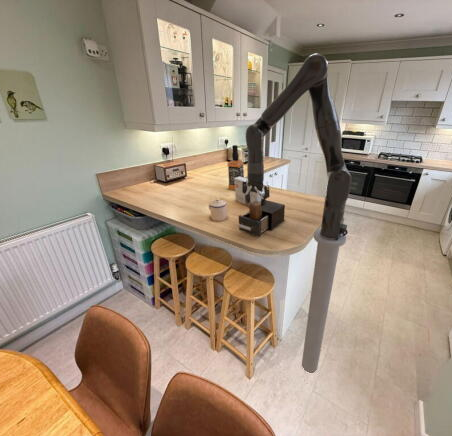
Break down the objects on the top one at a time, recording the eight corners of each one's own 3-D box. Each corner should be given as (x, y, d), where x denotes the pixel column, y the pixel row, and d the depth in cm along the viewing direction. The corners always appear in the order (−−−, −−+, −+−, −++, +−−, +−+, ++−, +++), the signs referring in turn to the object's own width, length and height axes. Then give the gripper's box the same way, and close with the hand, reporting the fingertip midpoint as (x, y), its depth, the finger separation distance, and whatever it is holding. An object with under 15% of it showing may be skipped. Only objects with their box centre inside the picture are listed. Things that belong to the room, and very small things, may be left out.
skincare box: (234, 200, 156) (233, 177, 149) (241, 198, 160) (240, 176, 153) (256, 209, 143) (256, 185, 136) (263, 207, 146) (263, 183, 139)
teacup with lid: (230, 217, 133) (229, 198, 128) (219, 223, 127) (217, 203, 122) (215, 211, 140) (214, 193, 135) (204, 217, 133) (202, 198, 128)
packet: (261, 225, 120) (262, 202, 114) (256, 229, 116) (256, 205, 110) (255, 223, 122) (255, 200, 116) (249, 227, 118) (249, 203, 112)
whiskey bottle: (228, 189, 176) (225, 146, 162) (233, 185, 185) (231, 144, 171) (240, 191, 173) (239, 146, 159) (245, 187, 182) (244, 144, 168)
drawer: (254, 240, 109) (254, 225, 105) (234, 233, 115) (233, 219, 112) (272, 226, 121) (273, 213, 118) (253, 220, 127) (253, 207, 124)
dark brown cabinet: (271, 230, 120) (271, 213, 115) (250, 223, 126) (249, 207, 122) (284, 220, 130) (284, 204, 125) (263, 214, 136) (263, 199, 132)
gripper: (238, 170, 107) (239, 202, 114) (264, 175, 100) (263, 209, 107) (247, 167, 112) (248, 198, 120) (273, 171, 105) (272, 204, 113)
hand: (255, 203), depth 113 cm, fingers open, 8 cm apart
